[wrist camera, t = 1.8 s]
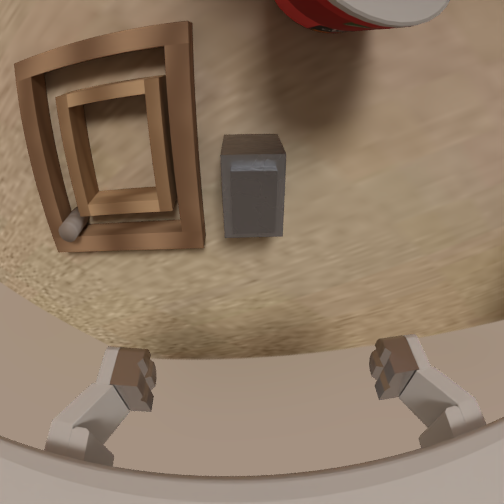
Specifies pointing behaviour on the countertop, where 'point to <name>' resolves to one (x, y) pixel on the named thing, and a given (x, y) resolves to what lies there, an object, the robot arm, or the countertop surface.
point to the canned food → (360, 13)
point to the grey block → (253, 185)
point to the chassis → (79, 154)
